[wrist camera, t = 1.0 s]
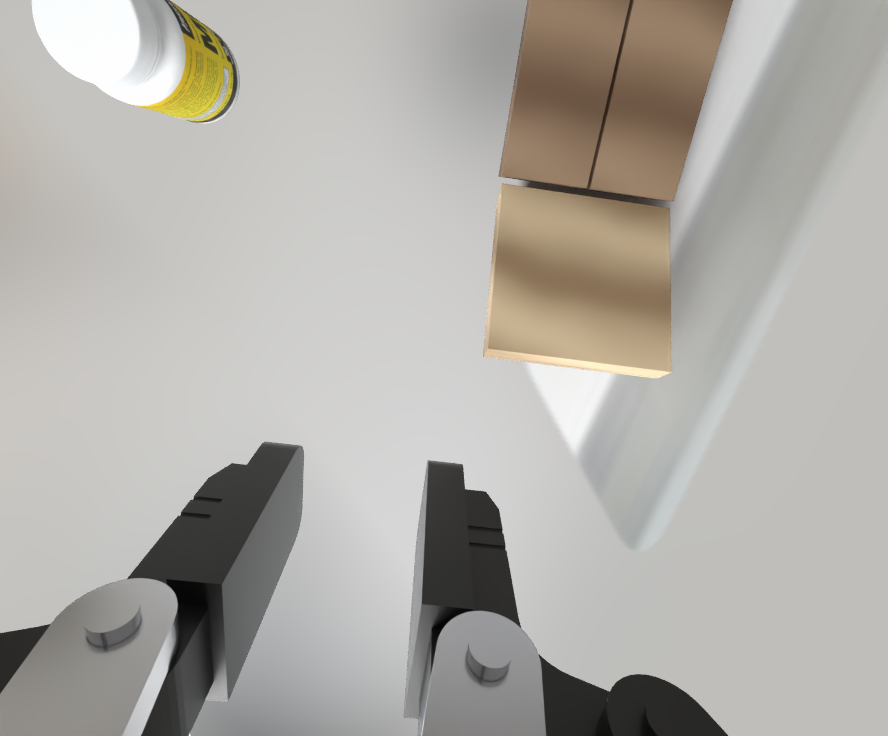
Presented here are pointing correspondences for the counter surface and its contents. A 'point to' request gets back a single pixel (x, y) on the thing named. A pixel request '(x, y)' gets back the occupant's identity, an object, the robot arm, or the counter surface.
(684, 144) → the brown flat square block
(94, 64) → the supplement bottle
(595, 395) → the counter surface
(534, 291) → the oak plank
